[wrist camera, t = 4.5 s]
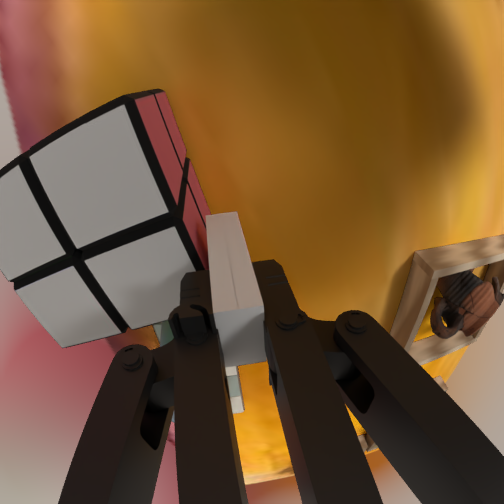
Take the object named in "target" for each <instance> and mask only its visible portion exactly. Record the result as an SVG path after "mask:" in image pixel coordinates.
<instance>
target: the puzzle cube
mask: <svg viewBox="0 0 504 504" xmlns="http://www.w3.org/2000/svg"><path fill="white" fill-rule="evenodd" d="M186 151H187V150H186V148H185V145H184V142H183V140H182V137H181V134H180V131H179V129H178V126H177V123H176V121H175V118H174V115H173V112H172V110H171V107H170V104H169V102H168V99H167V96H166V93H165V91H163V90H161V89H153V90H148V91H142V92H137V93H131V94H126V95H123V96H121V97H118V98H116V99H114V100H112V101H110V102H108V103H106V104H104V105H102V106H100V107H98V108H96V109H94V110H92V111H90V112H89V113H87V114H85V115H83V116H81V117H79V118H78V119H76V120H74V121H72V122H71V123H69V124H67V125H65V126H64V127H62V128H60V129H59V130H57V131H55V132H54V133H52V134H51V135H49V136H47V137H46V138H44V139H43V140H41V141H40V142H38V143H37V144H35V145H34V146H32V147H31V148H30V150H28V151H26V152H25V153H23V154H21V155H19V156H18V157H17V158H15V159H14V160H12V161H11V162H10V163H8V164H7V165H6V166H4V167H3V168H2V169H1V170H0V270H1V272H2V273H3V275H4V276H5V277H6V279H7V280H8V281H10V282H14V290H15V292H16V293H17V294H18V295H19V297H20V298H21V300H22V301H23V302H24V304H25V305H26V306H27V307H28V309H29V310H30V311H31V313H32V314H33V315H34V316H35V317H36V319H37V320H38V321H39V322H40V323H41V325H42V326H43V327H44V328H45V329H46V330H47V332H48V333H49V334H50V335H51V336H52V337H53V338H54V340H55V341H56V342H57V343H58V344H59V345H60V346H61V347H62V348H65V347H71V346H75V345H79V344H83V343H87V342H91V341H95V340H99V339H103V338H107V337H110V336H114V335H118V334H122V333H125V332H126V330H127V328H128V327H129V328H130V329H132V330H134V329H139V328H143V327H146V326H150V325H153V324H157V323H161V322H164V321H168V317H169V314H170V313H171V312H172V310H173V309H174V308H176V307H177V306H179V305H180V282H181V280H182V278H183V277H184V275H185V273H187V272H194V271H201V270H209V258H208V244H207V229H206V215H211V213H210V210H209V208H208V205H207V202H206V200H205V197H204V195H203V192H202V190H201V187H200V184H199V182H198V179H197V177H196V174H195V171H194V169H193V166H192V163H191V161H190V159H189V158H186Z"/></svg>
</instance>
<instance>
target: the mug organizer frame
mask: <svg viewBox="0 0 504 504" xmlns="http://www.w3.org/2000/svg"><path fill="white" fill-rule="evenodd" d="M487 264H490V265H489V268H488V270H487V273H486V275H485V278H484V280H483V282H486V281H488V282H490V283H491V284H492V278H493V277H498V280H499V285H500V292H501V293H502V292H503V289H504V235H499V236H494V237H489V238H484V239H478V240H473V241H468V242H463V243H458V244H452V245H447V246H442V247H436V248H431V249H425V250H420V251H415V254H414V258H413V262H412V265H411V269H410V272H409V276H408V279H407V283H406V286H405V289H404V293H403V296H402V299H401V302H400V305H399V308H398V311H397V314H396V317H395V320H394V323H393V326H392V328H391V331H390V335H391V336H392V337H393V338H394V339H395V340H396V341H397V342H398V343H399V344H400V345H401V346H402V347H403V348H404V349H405V350H406V351H407V352H408V353H409V354H410V355H411V356H412V357H413V358H414V360H415V361H416V362H417V363H418V364H419V365H423V364H426V363H428V362H431V361H433V360H435V359H438V358H440V357H443V356H445V355H447V354H449V353H452V352H454V351H456V350H458V349H461V348H463V347H465V346H467V345H469V344H471V343H473V342H475V341H476V340H477V339H478V337H479V335H480V334H481V332H482V330H483V328H484V327H485V325H486V323H487V322H486V323H485V324H484V325H483V326H482V327H481V328H480V329H479V330H478V331H477V332H475V333H474V334H472V335H471V336H468V337H466V336H465V335H464V333H463V332H462V331H458V332H457V333H456V334H455V335H454V336H452V337H450V338H448V339H442V338H439V337H438V336H437V335H433V336H430V337H427V338H425V339H422V340H419V341H416V342H413V341H414V339H415V336H416V334H417V332H418V330H419V327H420V325H421V323H422V320H423V318H424V315H425V313H426V311H427V308H428V306H429V303H430V300H431V298H432V295H433V292H434V290H435V287H436V284H437V281H438V278H439V277H443V276H447V275H451V274H455V273H458V272H462V271H466V270H469V269H473V268H476V267H480V266H483V265H487Z"/></svg>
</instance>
